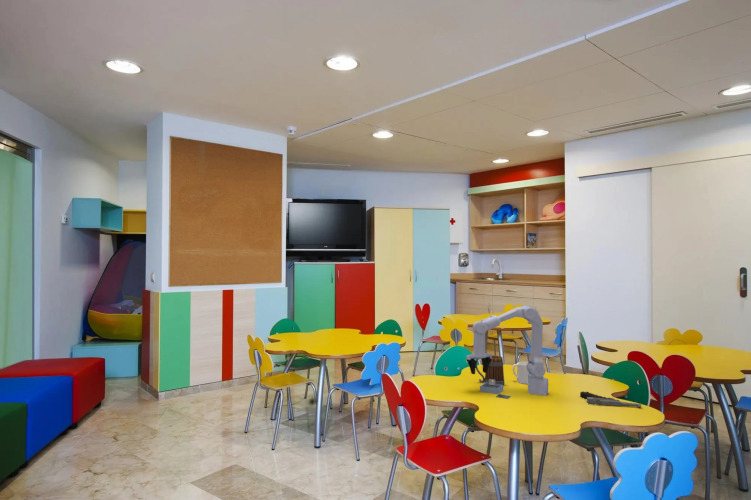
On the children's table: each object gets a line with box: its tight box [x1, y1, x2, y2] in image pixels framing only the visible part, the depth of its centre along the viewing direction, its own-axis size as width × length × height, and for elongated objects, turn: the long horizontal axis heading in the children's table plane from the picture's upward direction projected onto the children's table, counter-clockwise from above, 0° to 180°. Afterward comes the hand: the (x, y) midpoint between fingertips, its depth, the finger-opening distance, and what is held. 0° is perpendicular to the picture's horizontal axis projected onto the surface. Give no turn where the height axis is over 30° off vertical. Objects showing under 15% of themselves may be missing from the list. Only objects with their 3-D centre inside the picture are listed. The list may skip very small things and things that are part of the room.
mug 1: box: [474, 354, 505, 386], centre depth 245 cm, size 16×11×15 cm
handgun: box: [579, 391, 642, 408], centre depth 217 cm, size 3×24×15 cm
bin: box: [479, 382, 505, 395], centre depth 229 cm, size 9×9×4 cm
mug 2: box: [512, 361, 529, 386], centre depth 252 cm, size 13×10×10 cm
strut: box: [489, 379, 495, 388], centre depth 229 cm, size 4×4×6 cm
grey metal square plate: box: [495, 393, 512, 400], centre depth 219 cm, size 6×6×1 cm
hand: (479, 373), depth 228 cm, fingers open, 7 cm apart
